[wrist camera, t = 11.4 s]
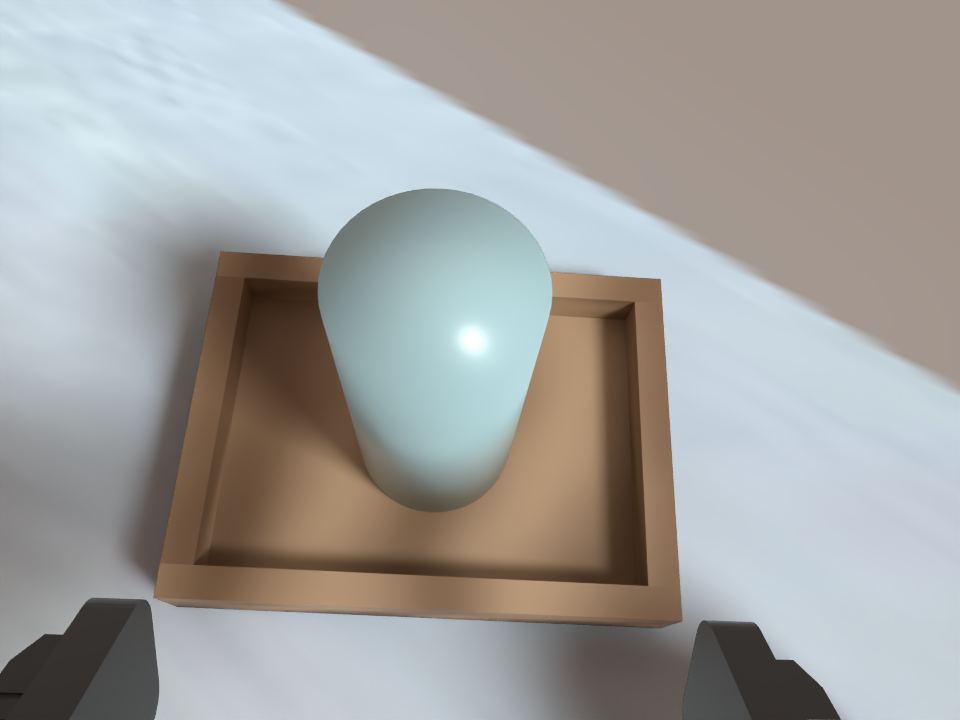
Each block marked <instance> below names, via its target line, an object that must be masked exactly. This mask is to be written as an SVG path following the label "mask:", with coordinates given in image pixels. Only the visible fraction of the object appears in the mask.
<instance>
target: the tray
mask: <svg viewBox="0 0 960 720" xmlns="http://www.w3.org/2000/svg"><path fill="white" fill-rule="evenodd" d="M323 260H324V258H317V257H301V256H285V255H269V254H254V253H238V252H222V251H221V253H220V258H219V263H218V268H217V274H216V279H215V284H214V289H213V294H212V299H211V304H210V309H209V315H208V320H207V325H206V330H205V335H204V340H203V345H202V350H201V356H200V361H199V366H198V371H197V376H196V381H195V386H194V392H193V397H192V402H191V407H190V412H189V417H188V422H187V427H186V433H185V438H184V443H183V448H182V453H181V458H180V463H179V468H178V474H177V479H176V484H175V489H174V494H173V499H172V504H171V509H170V515H169V520H168V525H167V530H166V535H165V540H164V545H163V550H162V556H161V561H160V566H159V571H158V576H157V581H156V586H155V592H154V597H153V598H156V599H159V600H161V601H164V602H166V603H169V604H172V605H174V606H177V607H194V608H217V609H239V610H262V611H285V612H307V613H330V614H352V615H375V616H398V617H420V618H443V619H465V620H488V621H511V622H533V623H556V624H578V625H601V626H624V627H646V628H662V627H665V626H668V625H672V624H675V623H678V622H681V621H682V610H681V594H680V578H679V562H678V546H677V530H676V515H675V499H674V483H673V467H672V451H671V435H670V420H669V404H668V388H667V372H666V356H665V341H664V325H663V309H662V293H661V279H650V278H634V277H618V276H602V275H586V274H570V273H555V272H550V275H551V279H552V305H551V310H550V314H549V319H548V322H547V326H546V329H545V332H544V336H543V339H542V343H541V346H540V349H539V353H538V356H537V360H536V363H535V367H534V370H533V373H532V377H531V380H530V384H529V387H528V390H527V394H526V397H525V401H524V404H523V407H522V411H521V414H520V418H519V421H518V424H517V428H516V431H515V435H514V438H513V441H512V445H511V448H510V452H509V455H508V458H507V462H506V464H505V467H504V469H503V471H502V473H501V475H500V477H499V479H498V480H497V481H496V483H495V484H494V485H493V487H492V488H491V489H490V490H489V491H488V492H487V493H486V494H484V495H483V496H482V497H480V498H479V499H478V500H476V501H474V502H473V503H471V504H469V505H467V506H464V507H462V508H459V509H456V510H452V511H446V512H423V511H418V510H414V509H410V508H408V507H405V506H403V505H401V504H399V503H397V502H395V501H394V500H392V499H391V498H389V497H388V496H387V495H385V494H384V493H383V492H382V491H381V490H380V489H379V488H378V486H377V485H376V484H375V483H374V481H373V480H372V478H371V477H370V475H369V473H368V471H367V469H366V466H365V464H364V461H363V457H362V454H361V450H360V447H359V444H358V440H357V437H356V433H355V430H354V427H353V423H352V420H351V416H350V413H349V409H348V406H347V403H346V399H345V396H344V392H343V389H342V386H341V382H340V379H339V375H338V372H337V368H336V365H335V362H334V358H333V355H332V351H331V348H330V344H329V341H328V338H327V334H326V331H325V327H324V324H323V321H322V317H321V313H320V308H319V302H318V279H319V274H320V269H321V265H322V262H323Z"/></svg>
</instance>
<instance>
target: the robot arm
mask: <svg viewBox="0 0 960 720" xmlns="http://www.w3.org/2000/svg"><path fill="white" fill-rule="evenodd" d="M158 698H159V677H158V668H157V659H156V650H155V641H154V632H153V622H152V613H151V608H150V605H149V603H148V602H147V600H141V599H112V598H91V599H89V600H88V601H87V602H86V603H85V604H84V605H83V607H82V608H81V610H80V611H79V613H78V614H77V615H76V617H75V618H74V620H73V621H72V623H71V624H70V626H69V627H68V629H67V630H66V632H65V633H64V635H54V634H45V635H43V636H42V637H41V638H39V639H38V640H37V641H35V642H34V643H33V644H31V645H30V646H29V647H27V648H26V649H25V650H23V651H22V652H21V653H19V654H18V655H17V656H15V657H14V658H13V659H11V660H10V661H9V662H8V664H7V665H6V666H5V668H4V669H3V671H2V672H1V673H0V720H154V718H155V715H156V710H157V705H158ZM682 716H683V720H840V717H839V715H838V714H837V712H836V710H835V708H834V707H833V705H832V703H831V701H830V700H829V698H828V696H827V694H826V693H825V691H824V689H823V687H821V686H820V685H819V684H818V683H817V682H816V681H815V680H814V679H813V678H812V677H811V676H810V675H809V674H807V673H806V672H805V671H804V670H803V669H802V668H801V667H800V666H799V665H798V664H797V663H796V662H795V661H794V660H776V659H775V657H774V655H773V653H772V651H771V650H770V648H769V646H768V644H767V642H766V640H765V638H764V636H763V634H762V632H761V630H760V629H759V627H758V626H757V625H756V624H755V623H753V622H732V621H702V622H701V623H700V625H699V627H698V630H697V634H696V639H695V644H694V649H693V654H692V659H691V664H690V669H689V674H688V679H687V684H686V689H685V694H684V699H683V711H682Z"/></svg>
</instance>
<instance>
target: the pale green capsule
mask: <svg viewBox="0 0 960 720" xmlns="http://www.w3.org/2000/svg"><path fill="white" fill-rule="evenodd" d="M318 302H319V308H320V313H321V317H322V321H323V324H324V327H325V331H326V334H327V338H328V341H329V344H330V348H331V351H332V355H333V358H334V362H335V365H336V368H337V372H338V375H339V379H340V382H341V386H342V389H343V392H344V396H345V399H346V403H347V406H348V409H349V413H350V416H351V420H352V423H353V427H354V430H355V433H356V437H357V440H358V444H359V447H360V450H361V454H362V457H363V461H364V464H365V466H366V469H367V471H368V473H369V475H370V477H371V478H372V480H373V481H374V483H375V484H376V485H377V486H378V488H379V489H380V490H381V491H382V492H383V493H384V494H385V495H387V496H388V497H389V498H391V499H392V500H394V501H395V502H397V503H399V504H401V505H403V506H405V507H408V508H410V509H414V510H418V511H423V512H446V511H452V510H456V509H459V508H462V507H464V506H467V505H469V504H471V503H473V502H474V501H476V500H478V499H479V498H480V497H482V496H483V495H484V494H486V493H487V492H488V491H489V490H490V489H491V488H492V487H493V485H494V484H495V483H496V481H497V480H498V479H499V477H500V475H501V473H502V471H503V469H504V467H505V464H506V462H507V458H508V455H509V452H510V448H511V445H512V441H513V438H514V435H515V431H516V428H517V424H518V421H519V418H520V414H521V411H522V407H523V404H524V401H525V397H526V394H527V390H528V387H529V384H530V380H531V377H532V373H533V370H534V367H535V363H536V360H537V356H538V353H539V349H540V346H541V343H542V339H543V336H544V332H545V329H546V326H547V322H548V319H549V314H550V310H551V305H552V279H551V275H550V270H549V266H548V263H547V261H546V258H545V255H544V253H543V251H542V249H541V247H540V246H539V244H538V242H537V241H536V239H535V238H534V236H533V235H532V234H531V232H530V231H529V230H528V229H527V228H526V227H525V226H524V225H523V224H522V223H521V222H520V221H519V220H518V219H517V218H516V217H515V216H513V215H512V214H511V213H510V212H508V211H507V210H505V209H503V208H502V207H500V206H499V205H497V204H495V203H493V202H491V201H489V200H487V199H485V198H482V197H479V196H476V195H473V194H470V193H466V192H461V191H457V190H448V189H420V190H412V191H407V192H403V193H399V194H396V195H393V196H390V197H387V198H384V199H382V200H380V201H378V202H376V203H374V204H372V205H370V206H369V207H367V208H365V209H364V210H362V211H361V212H360V213H358V214H357V215H356V216H355V217H353V218H352V219H351V220H350V221H349V222H348V223H347V224H346V225H345V226H344V227H343V228H342V229H341V230H340V231H339V233H338V234H337V236H336V237H335V238H334V240H333V241H332V243H331V245H330V247H329V248H328V250H327V252H326V254H325V257H324V260H323V262H322V265H321V269H320V274H319V279H318Z"/></svg>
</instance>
